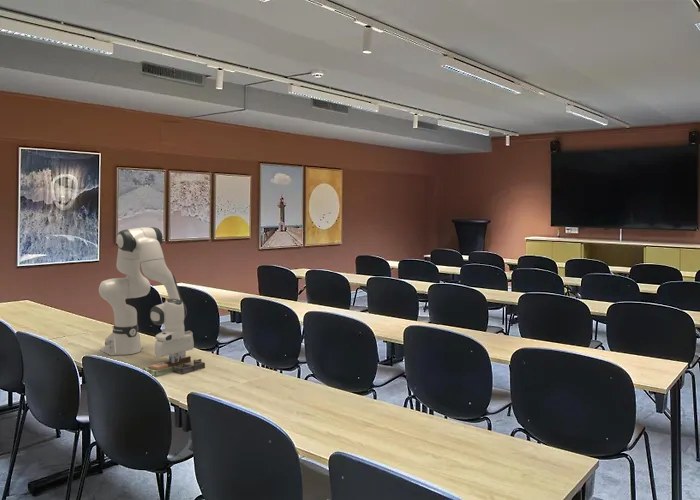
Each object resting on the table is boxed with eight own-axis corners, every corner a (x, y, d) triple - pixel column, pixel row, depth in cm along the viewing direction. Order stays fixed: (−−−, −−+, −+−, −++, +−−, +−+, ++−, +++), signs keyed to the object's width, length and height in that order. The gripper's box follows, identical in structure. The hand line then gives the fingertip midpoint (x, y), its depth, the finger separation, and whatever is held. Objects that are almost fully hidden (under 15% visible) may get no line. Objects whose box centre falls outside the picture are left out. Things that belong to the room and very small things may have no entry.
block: (150, 374, 266) (150, 365, 265) (161, 370, 271) (161, 362, 270) (157, 375, 263) (157, 367, 263) (168, 372, 268) (168, 364, 268)
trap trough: (143, 373, 266) (143, 368, 266) (189, 361, 287) (189, 356, 287) (164, 379, 257) (164, 373, 257) (209, 366, 278) (209, 361, 278)
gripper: (188, 328, 284) (188, 356, 285) (152, 336, 267) (152, 365, 268) (196, 330, 280) (196, 358, 281) (161, 338, 264) (161, 368, 265)
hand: (175, 362), depth 275 cm, fingers closed
